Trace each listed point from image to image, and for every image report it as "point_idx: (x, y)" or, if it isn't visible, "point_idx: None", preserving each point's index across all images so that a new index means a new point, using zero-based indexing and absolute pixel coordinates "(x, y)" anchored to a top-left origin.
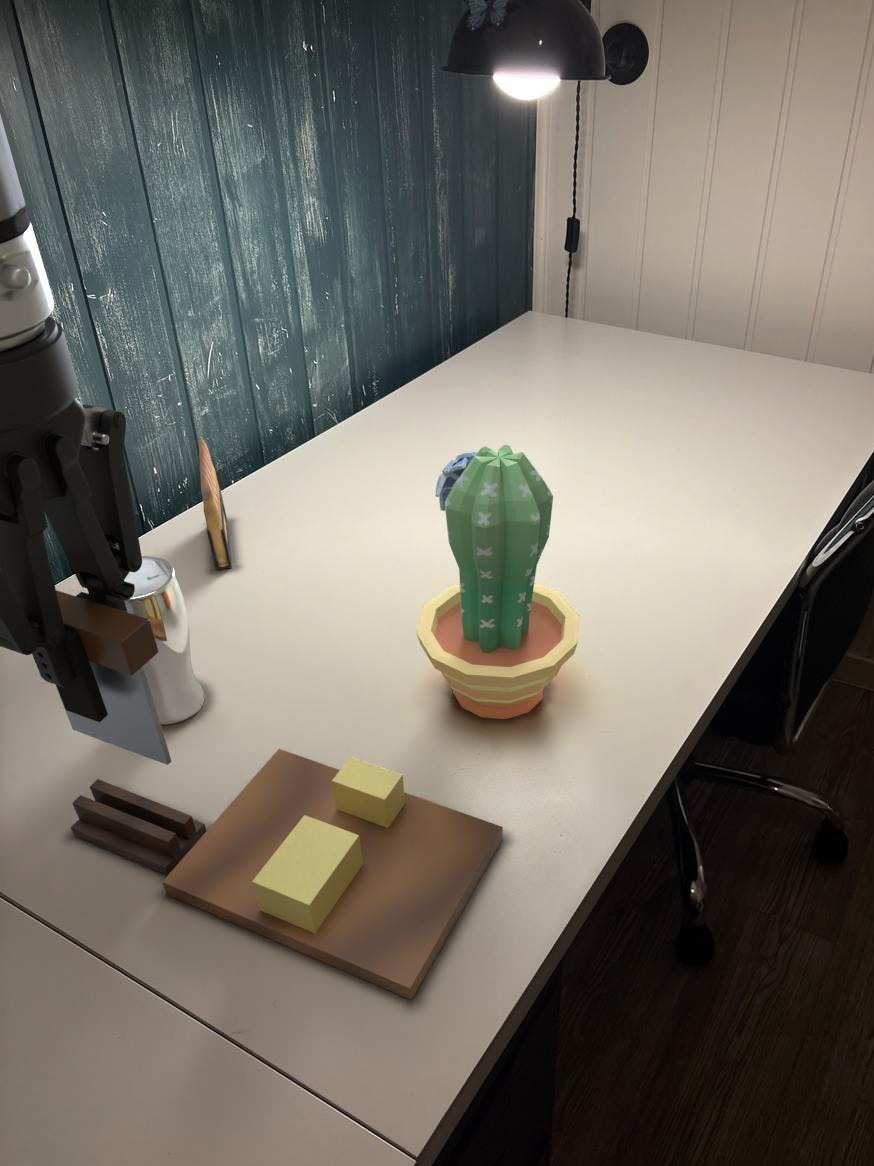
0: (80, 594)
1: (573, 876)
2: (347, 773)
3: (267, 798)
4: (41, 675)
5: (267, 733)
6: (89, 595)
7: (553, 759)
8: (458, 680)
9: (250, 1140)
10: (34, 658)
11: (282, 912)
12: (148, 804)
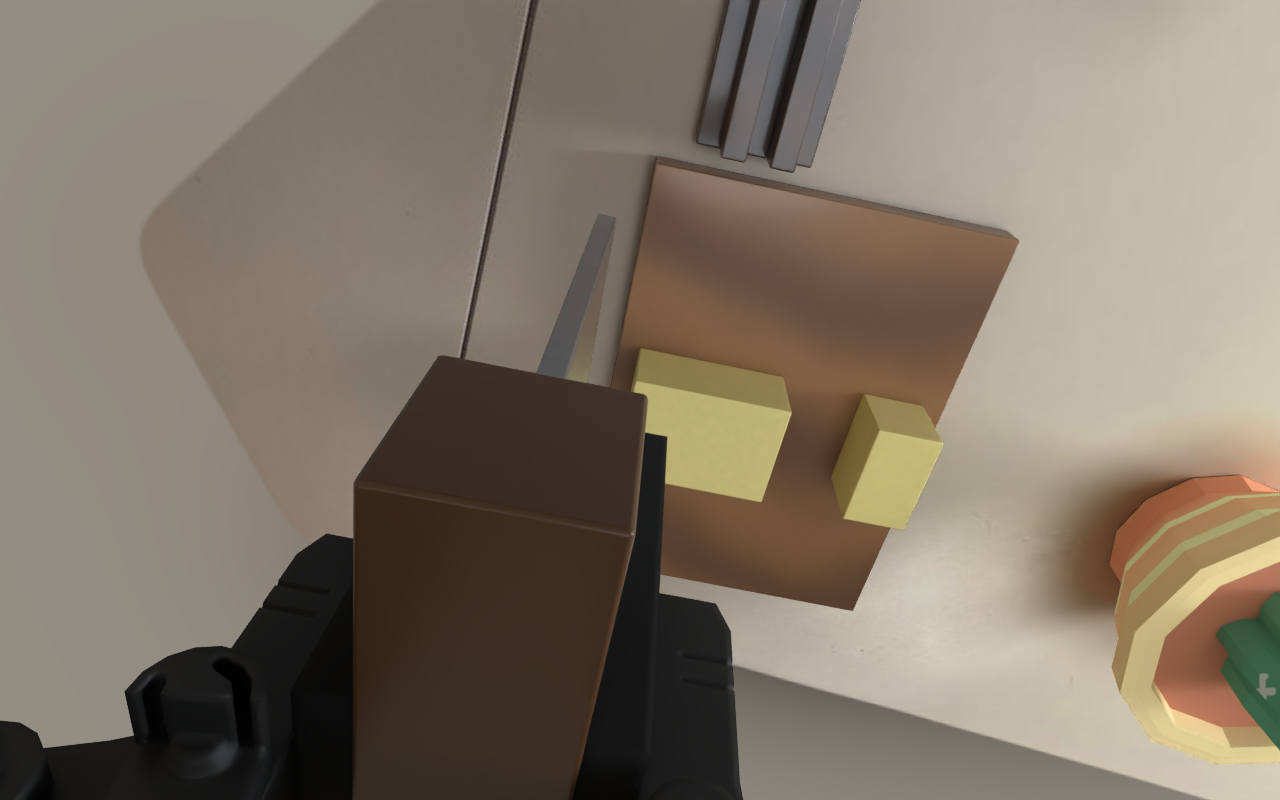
0: (623, 760)
1: (795, 667)
2: (899, 450)
3: (878, 270)
4: (291, 566)
5: (1091, 170)
6: (626, 795)
7: (1010, 630)
8: (1155, 573)
9: (362, 429)
10: (242, 635)
11: None
12: (812, 61)
